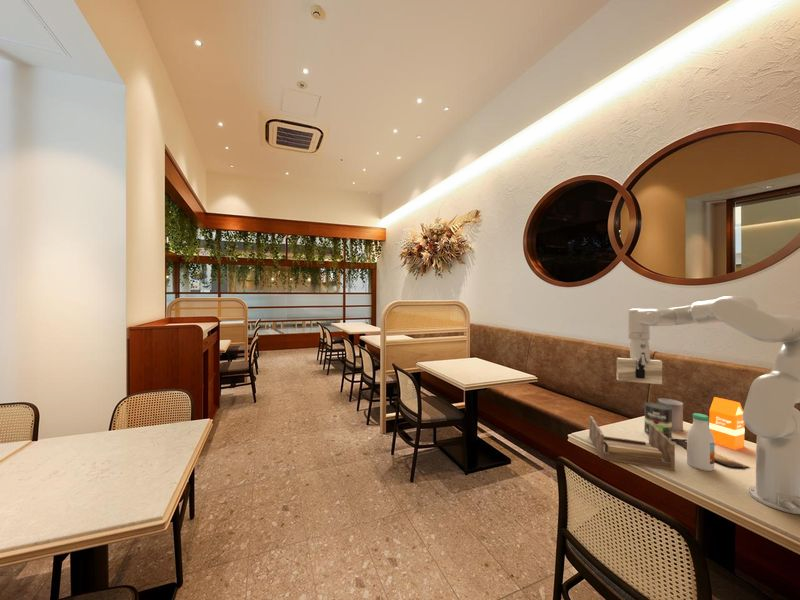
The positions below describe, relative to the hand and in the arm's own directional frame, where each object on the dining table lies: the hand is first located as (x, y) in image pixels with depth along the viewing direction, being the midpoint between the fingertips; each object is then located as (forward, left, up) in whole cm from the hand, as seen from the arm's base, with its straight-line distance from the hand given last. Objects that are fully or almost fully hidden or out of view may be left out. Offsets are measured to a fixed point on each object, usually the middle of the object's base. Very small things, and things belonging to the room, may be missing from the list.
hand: (638, 376), depth 140 cm
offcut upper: (-17, +7, -27) cm, 33 cm away
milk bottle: (-14, -16, -30) cm, 37 cm away
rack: (-11, +7, -30) cm, 33 cm away
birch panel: (0, 0, -2) cm, 2 cm away
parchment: (+2, -28, -30) cm, 41 cm away
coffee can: (+14, -12, -30) cm, 35 cm away
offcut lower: (-17, +7, -29) cm, 34 cm away
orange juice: (+14, -37, -30) cm, 50 cm away
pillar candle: (+26, -21, -30) cm, 45 cm away
